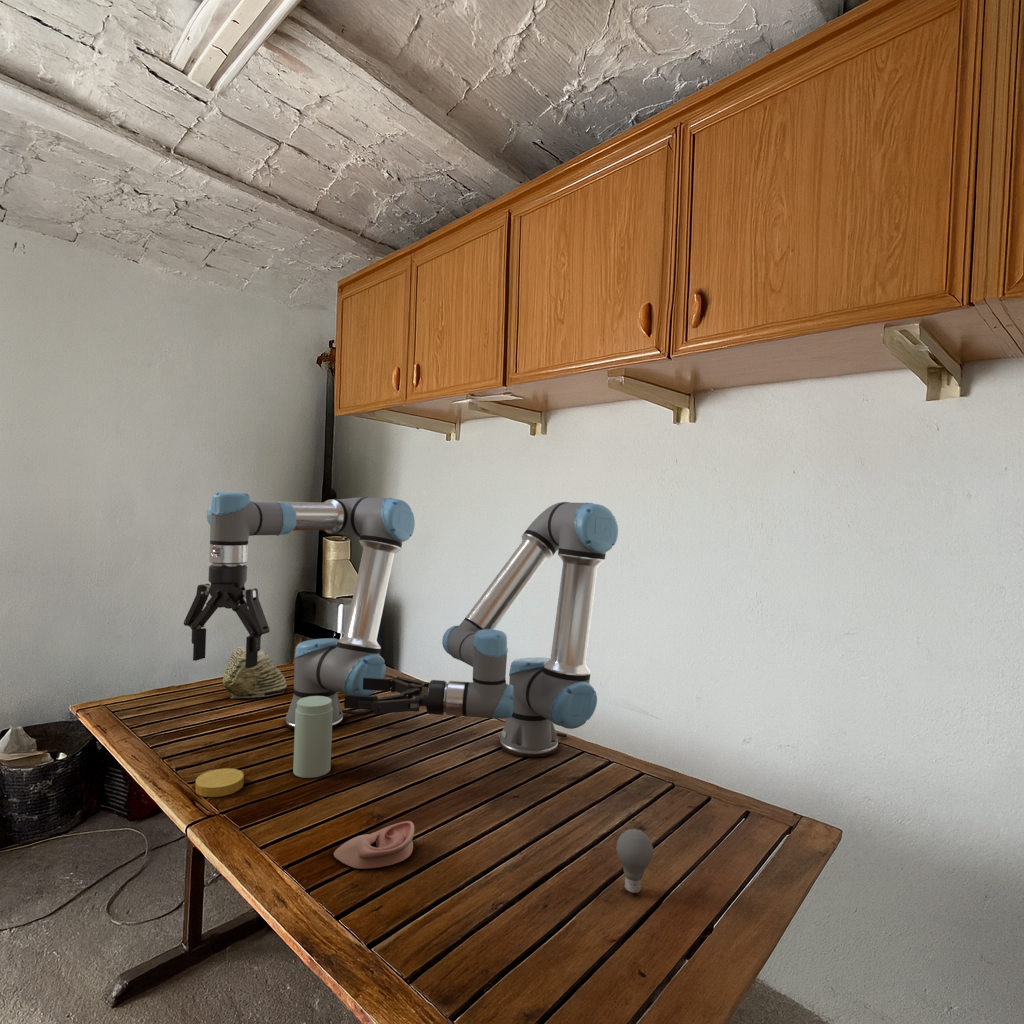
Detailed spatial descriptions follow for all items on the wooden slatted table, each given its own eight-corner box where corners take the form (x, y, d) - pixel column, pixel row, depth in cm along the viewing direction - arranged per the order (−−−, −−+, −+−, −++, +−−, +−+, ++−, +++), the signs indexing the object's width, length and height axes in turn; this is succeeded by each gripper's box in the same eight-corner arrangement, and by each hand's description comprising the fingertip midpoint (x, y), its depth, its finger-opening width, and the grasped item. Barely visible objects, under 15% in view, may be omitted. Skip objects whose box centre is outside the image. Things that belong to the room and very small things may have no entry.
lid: (189, 798, 130) (189, 789, 130) (201, 778, 140) (202, 769, 140) (238, 796, 133) (239, 786, 132) (247, 776, 142) (247, 767, 142)
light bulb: (610, 879, 108) (613, 822, 108) (644, 879, 109) (647, 822, 109) (619, 902, 102) (622, 840, 102) (655, 901, 103) (658, 840, 103)
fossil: (218, 695, 195) (220, 647, 195) (278, 685, 208) (279, 640, 207) (228, 703, 189) (230, 653, 188) (289, 692, 201) (290, 645, 201)
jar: (317, 759, 152) (320, 693, 152) (337, 770, 147) (340, 701, 147) (286, 769, 146) (288, 700, 146) (305, 781, 141) (308, 709, 140)
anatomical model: (325, 840, 109) (355, 809, 121) (324, 863, 109) (354, 830, 121) (398, 852, 107) (421, 819, 118) (397, 876, 107) (420, 840, 118)
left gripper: (167, 561, 135) (164, 660, 136) (265, 570, 128) (261, 674, 129) (194, 558, 143) (191, 652, 143) (289, 566, 135) (285, 665, 136)
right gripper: (435, 734, 132) (335, 727, 133) (453, 697, 157) (369, 691, 158) (436, 698, 132) (336, 692, 133) (455, 667, 156) (370, 662, 158)
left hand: (224, 663), depth 136 cm, fingers open, 13 cm apart
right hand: (354, 691), depth 145 cm, fingers open, 13 cm apart
